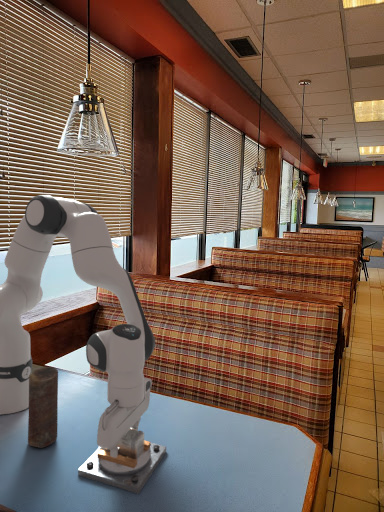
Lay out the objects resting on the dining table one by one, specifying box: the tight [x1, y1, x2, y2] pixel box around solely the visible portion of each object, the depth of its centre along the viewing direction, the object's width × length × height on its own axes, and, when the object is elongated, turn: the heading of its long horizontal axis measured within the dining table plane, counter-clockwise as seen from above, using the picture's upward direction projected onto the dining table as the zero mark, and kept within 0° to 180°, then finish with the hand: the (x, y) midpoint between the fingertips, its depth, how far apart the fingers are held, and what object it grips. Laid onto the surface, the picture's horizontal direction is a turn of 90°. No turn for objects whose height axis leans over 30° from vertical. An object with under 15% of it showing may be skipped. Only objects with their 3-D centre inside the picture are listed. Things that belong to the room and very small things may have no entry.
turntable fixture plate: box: [77, 439, 167, 495], centre depth 95 cm, size 16×16×4 cm
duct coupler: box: [104, 429, 145, 460], centre depth 95 cm, size 4×9×5 cm, turn 71°
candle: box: [27, 366, 59, 449], centre depth 101 cm, size 8×7×20 cm
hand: (124, 444), depth 95 cm, fingers open, 8 cm apart
